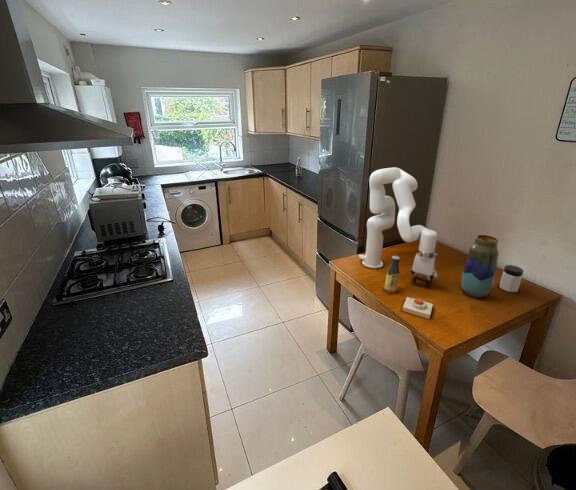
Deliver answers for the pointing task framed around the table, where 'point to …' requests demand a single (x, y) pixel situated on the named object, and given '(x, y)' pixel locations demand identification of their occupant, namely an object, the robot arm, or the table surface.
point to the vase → (480, 266)
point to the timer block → (417, 308)
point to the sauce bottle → (392, 275)
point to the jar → (511, 278)
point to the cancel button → (418, 301)
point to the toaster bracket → (419, 276)
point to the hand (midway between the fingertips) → (420, 283)
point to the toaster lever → (421, 278)
